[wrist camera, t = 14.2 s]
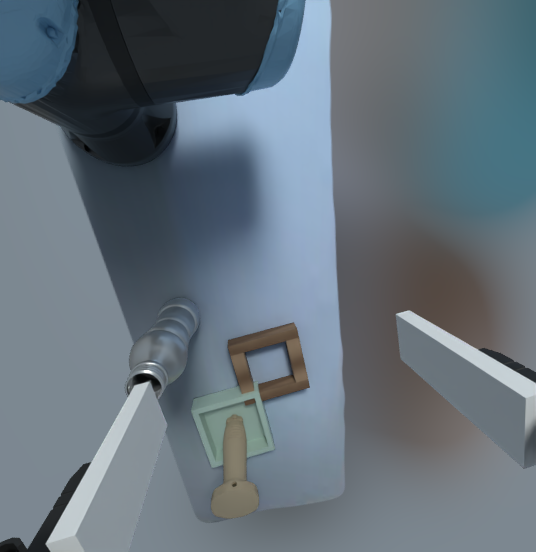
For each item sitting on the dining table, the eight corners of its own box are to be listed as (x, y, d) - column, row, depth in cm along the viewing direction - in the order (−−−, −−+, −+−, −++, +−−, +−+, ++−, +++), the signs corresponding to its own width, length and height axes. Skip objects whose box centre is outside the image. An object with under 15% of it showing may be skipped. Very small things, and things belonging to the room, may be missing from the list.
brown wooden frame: (228, 340, 48) (227, 347, 45) (293, 322, 48) (296, 328, 46) (244, 396, 51) (245, 405, 48) (306, 379, 51) (309, 387, 49)
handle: (252, 429, 52) (259, 514, 37) (218, 433, 51) (212, 521, 37) (251, 407, 51) (258, 486, 36) (216, 411, 50) (209, 493, 36)
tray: (193, 398, 49) (190, 410, 46) (257, 380, 50) (258, 391, 47) (213, 453, 53) (212, 468, 50) (272, 436, 54) (275, 449, 51)
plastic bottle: (163, 332, 46) (112, 421, 26) (160, 293, 44) (104, 359, 25) (202, 330, 47) (180, 416, 27) (201, 293, 45) (176, 355, 26)
